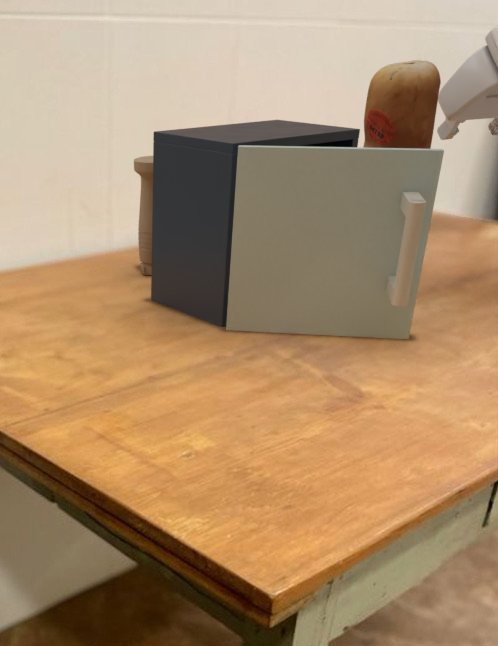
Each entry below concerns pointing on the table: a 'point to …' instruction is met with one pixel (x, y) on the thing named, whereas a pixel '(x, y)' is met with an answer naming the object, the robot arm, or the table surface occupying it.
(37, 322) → the table surface
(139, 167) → the handle
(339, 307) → the door
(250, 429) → the table surface
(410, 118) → the butternut squash
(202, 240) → the cupboard
